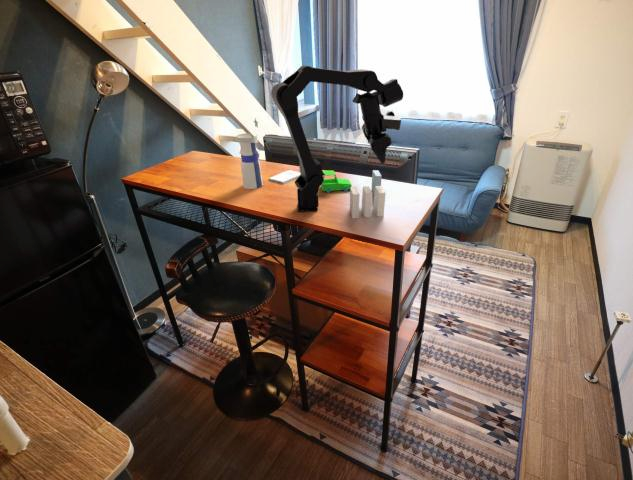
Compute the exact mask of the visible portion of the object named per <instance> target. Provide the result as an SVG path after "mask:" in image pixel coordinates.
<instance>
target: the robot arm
mask: <svg viewBox="0 0 633 480" xmlns="http://www.w3.org/2000/svg"><path fill="white" fill-rule="evenodd" d="M311 82H313V83H320V84H321V83H323V84H331V85H337V86H338V85H339V86H346V87H349V88H352V89H355V90H358V91H363V92H364V93H362V94H360V93H356V94H355V96H354V98H352V103H355V104H357V105H358V104H359V106H360V109H361V115H362V116H361V117H362V121H363V124H362V126H361V130H362V133H363V135H364V138H365V139H366V141H367V142H368V143H369V147H370V149H371V151H372V152H373V153H374V155H375V156H376V158H377V159H378V161H379V162H380V164H382V165H383V164H385V163H386V154H387V149H388V148H389V147H390V146H391V145H392V137H390V135H389V133H386V132H387V130H395V131H400V129H401V124H402V118H401V117H400V116H399V115H396V114H395V112H394V111H393V110H388V111H387V112H386V114H384V115H383V114H382V112H381V106H383V108H386V107H388V106H392V105H394V104H396V103H399V102H401V101H402V100H403V98H404V90H403V89H402V87H401V85H400V83H399V81H398V79H397V78H392V79H390V80H389V81H386V82H384V83H382V82H381V81H380V80H379V79H378V75H377V74H376V72H375V71H373V70H370V69H369V70H368V69H363V68H362V69H351V70H339V69H337V70H336V69H330V68H329V69H328V68H321V67H312V66H309V65H304V64H303V65H300V66H299V68H298V69H297V70H296V71H295V72H293V73H292V74H291V75H290V76H288V77H286V78H285V79H284V80H283V81H282V82H278V83H276V84H274V86H273V87H272V90H271V92H270V94H271V98H272V100H273V102H274V104H275V106H276V107H277V109H278V111H279V112H280V114H281V115H282V116H283V119H284V121H285V124H286V126H287V129H288V133H289V135H290V137H291V141H292V143H293V146H294V149H295V151H296V155H297V157H298V160H299V172H300V173H301V175H300V176H299V177H298V178H296V179H295V180H294V184H295V186H296V187H297V189H296V192H297V212H317V211H318V208H319V191H320V188H321V184H322V183H323V181H324V179H325V176H326V175H325V174H324V173H323V171H324V170H323V167H322V163H321V162H320V161H318V160H317V159H316V158H313V155H312V153H311V150H310V149H311V148H310V146H309V143H308V141H307V137H306V134H305V131H304V129H303V125H302V122H301V119H300V117H299V103H298V102H299V101H298V96H299V95H301V94H302V93H303V91H305V89H306V87H307V86H308V85H309V84H310V83H311ZM373 91H374V92H373ZM324 175H325V176H324Z"/></svg>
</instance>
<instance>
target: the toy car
mask: <svg viewBox="0 0 633 480" xmlns="http://www.w3.org/2000/svg"><path fill="white" fill-rule="evenodd" d="M322 171H323V173H324V174H325V175H323V177H325V176H334V177H333V178H324V181H323V183H322V184H321V186H320V188H321V190H322V192H326V193H331V192H333V191H344V192H348V191H349V190H350V187H353V186H352V182H351V181H350V180H349V178H338V177H337V175H336V172H335V170H331V169H330V170H322Z"/></svg>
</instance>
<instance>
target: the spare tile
mask: <svg viewBox="0 0 633 480" xmlns="http://www.w3.org/2000/svg"><path fill="white" fill-rule="evenodd" d="M375 186H382V174H381V173H380V171H379V170H376V169H375V170H374V169H373V170H372V176H371V188H370V189H371V191H372V193H373V194H372V197H375Z"/></svg>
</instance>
